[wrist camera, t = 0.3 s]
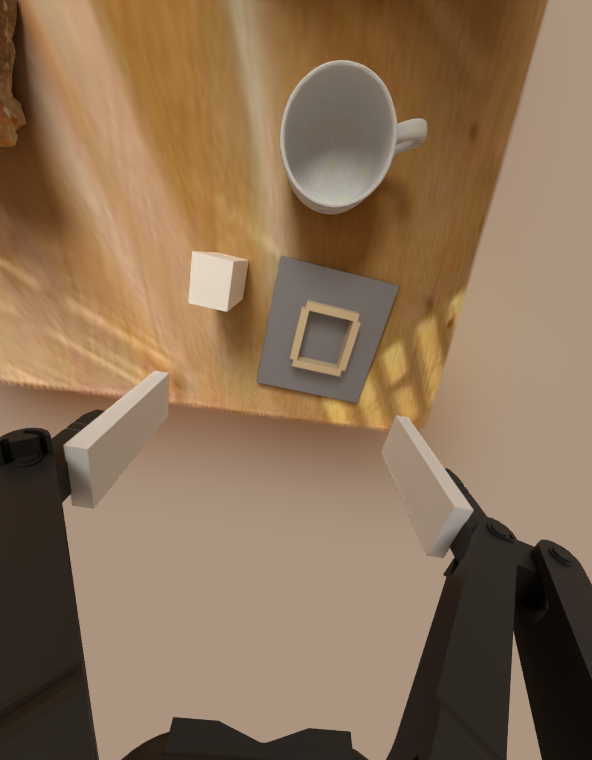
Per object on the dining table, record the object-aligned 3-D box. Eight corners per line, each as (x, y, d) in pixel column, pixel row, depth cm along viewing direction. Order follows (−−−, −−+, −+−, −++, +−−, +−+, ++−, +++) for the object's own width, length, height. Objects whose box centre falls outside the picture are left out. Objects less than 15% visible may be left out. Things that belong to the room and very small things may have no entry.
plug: (218, 252, 36) (192, 251, 27) (248, 260, 37) (233, 261, 28) (213, 291, 38) (188, 303, 29) (243, 298, 39) (226, 311, 29)
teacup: (281, 215, 35) (277, 203, 27) (285, 99, 30) (282, 49, 23) (392, 222, 35) (418, 213, 28) (412, 109, 31) (449, 63, 23)
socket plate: (281, 255, 36) (280, 255, 34) (397, 285, 38) (405, 287, 35) (257, 379, 43) (254, 387, 41) (355, 400, 45) (359, 409, 42)
